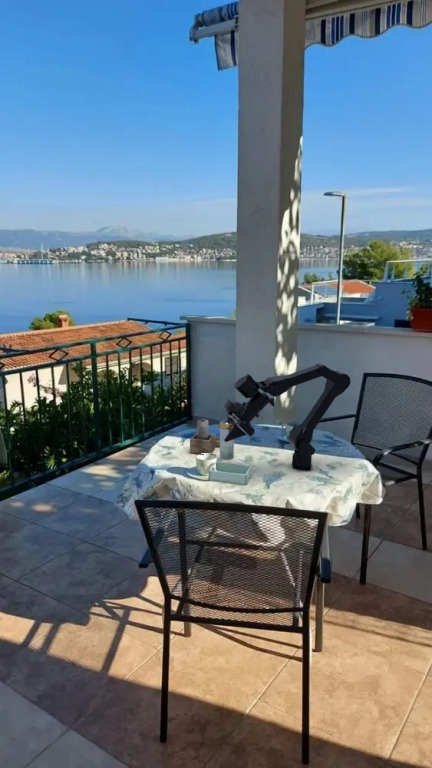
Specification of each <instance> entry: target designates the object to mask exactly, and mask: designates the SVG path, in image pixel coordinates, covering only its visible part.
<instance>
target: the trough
mask: <svg viewBox="0 0 432 768" xmlns="http://www.w3.org/2000/svg"><path fill="white" fill-rule="evenodd" d="M215 462H216V470H217V471H214V467H212V466H211V467H210V469H208V481H210V482H211V481H212V482H218V483H227V484H228V483H229V484H234V485H241V486H242V485H243V486H247V485H248V482H249V481H250V479H251V477H252V475H253V473H252V472H253V471H252V470H253V466H252V465H246V464H238V463H229V462H223V461H221V462H220V461H215Z"/></svg>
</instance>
